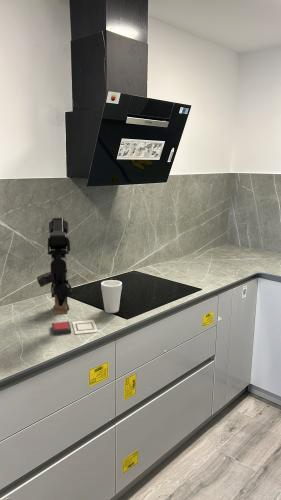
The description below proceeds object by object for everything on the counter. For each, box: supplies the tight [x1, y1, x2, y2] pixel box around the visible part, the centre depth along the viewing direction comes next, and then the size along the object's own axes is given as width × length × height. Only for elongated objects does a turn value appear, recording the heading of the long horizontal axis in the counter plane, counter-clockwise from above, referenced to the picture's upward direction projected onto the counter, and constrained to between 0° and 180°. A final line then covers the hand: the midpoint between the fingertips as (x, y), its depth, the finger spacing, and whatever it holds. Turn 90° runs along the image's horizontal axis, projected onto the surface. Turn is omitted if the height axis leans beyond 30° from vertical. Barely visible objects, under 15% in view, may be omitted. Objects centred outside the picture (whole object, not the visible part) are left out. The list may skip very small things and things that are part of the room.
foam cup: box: [100, 279, 123, 314], centre depth 178 cm, size 10×9×13 cm
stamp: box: [53, 295, 68, 316], centre depth 156 cm, size 5×5×8 cm
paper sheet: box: [71, 319, 99, 336], centre depth 161 cm, size 12×9×1 cm
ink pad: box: [51, 321, 72, 336], centre depth 159 cm, size 8×7×2 cm
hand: (60, 303), depth 156 cm, fingers closed on stamp, 4 cm apart
